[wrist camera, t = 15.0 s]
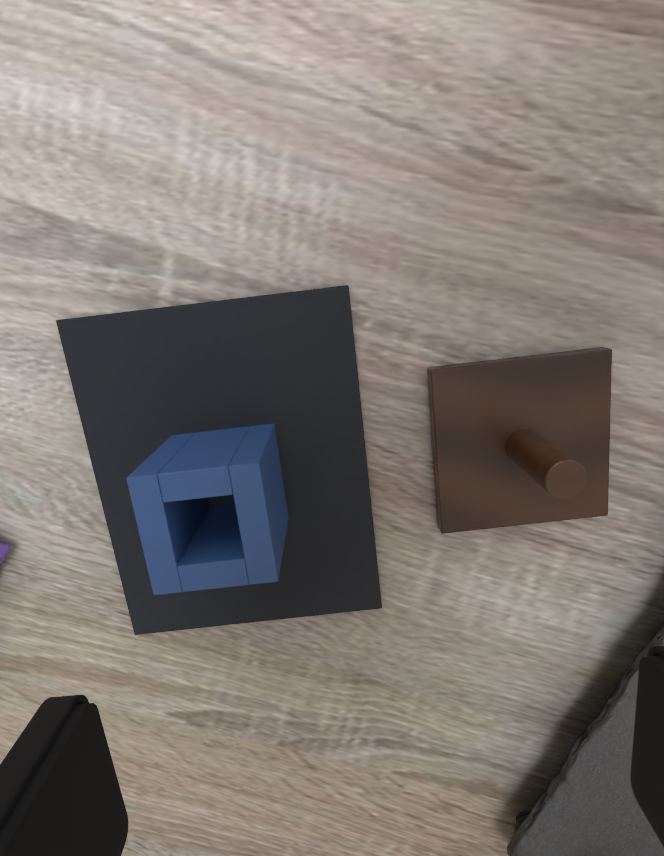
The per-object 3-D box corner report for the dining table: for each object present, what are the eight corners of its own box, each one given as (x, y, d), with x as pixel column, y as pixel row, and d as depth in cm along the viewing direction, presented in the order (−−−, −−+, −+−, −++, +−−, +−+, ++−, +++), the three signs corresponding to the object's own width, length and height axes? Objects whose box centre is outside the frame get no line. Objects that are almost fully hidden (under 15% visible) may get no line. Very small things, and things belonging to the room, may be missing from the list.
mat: (60, 320, 28) (55, 320, 28) (347, 285, 28) (348, 285, 28) (137, 630, 33) (134, 635, 33) (381, 603, 33) (381, 608, 33)
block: (171, 434, 30) (125, 477, 23) (274, 423, 29) (259, 462, 23) (190, 529, 31) (153, 595, 24) (288, 518, 31) (278, 581, 24)
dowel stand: (427, 367, 29) (454, 388, 23) (603, 346, 29) (679, 362, 23) (437, 526, 32) (465, 585, 26) (599, 509, 32) (667, 563, 25)
